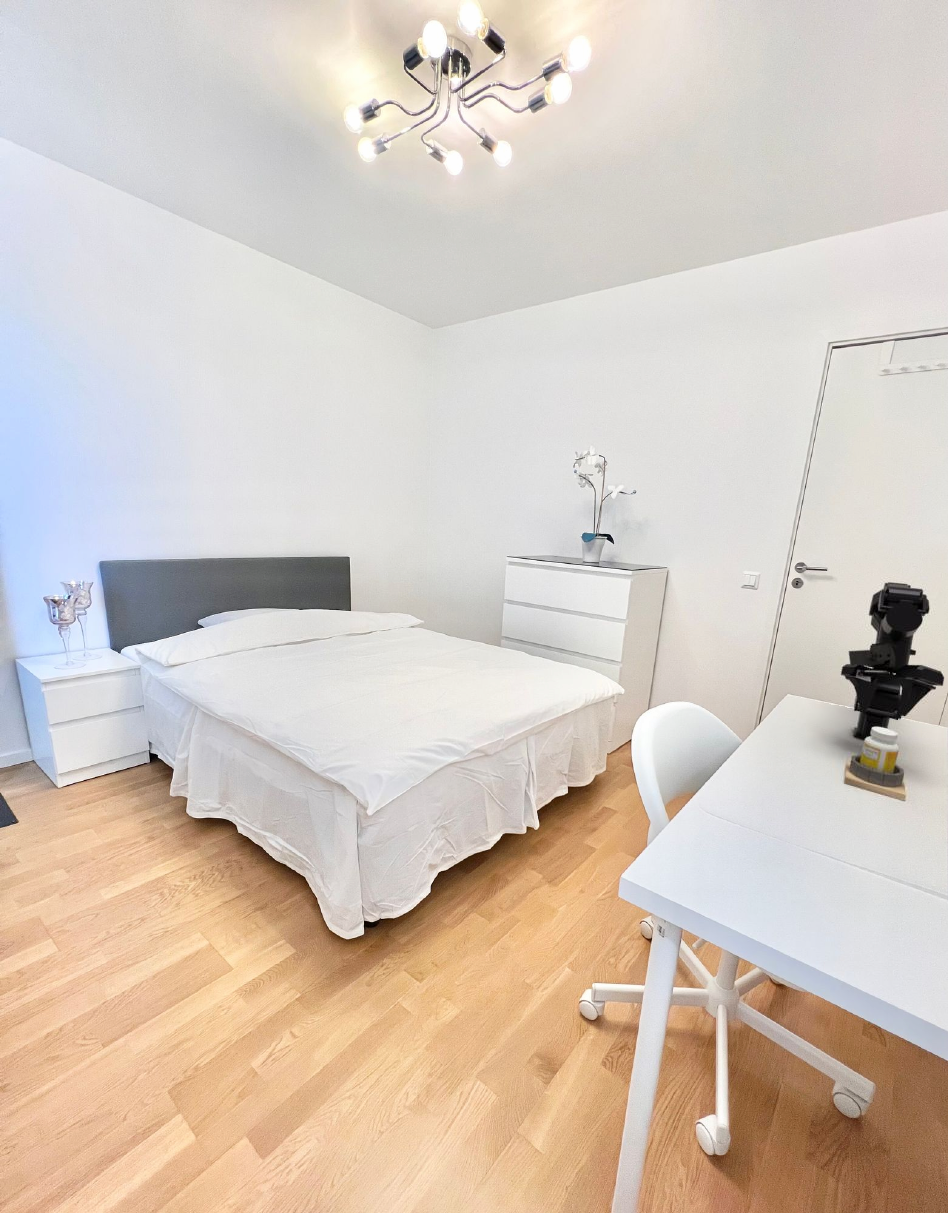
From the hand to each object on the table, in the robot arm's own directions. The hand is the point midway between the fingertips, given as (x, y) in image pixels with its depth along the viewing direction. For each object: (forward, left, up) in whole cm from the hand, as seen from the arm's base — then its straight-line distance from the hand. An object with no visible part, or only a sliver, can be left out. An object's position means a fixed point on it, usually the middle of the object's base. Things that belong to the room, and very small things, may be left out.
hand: (881, 713), depth 108 cm
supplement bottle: (+10, 0, -10) cm, 15 cm away
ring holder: (+11, 0, -11) cm, 16 cm away
